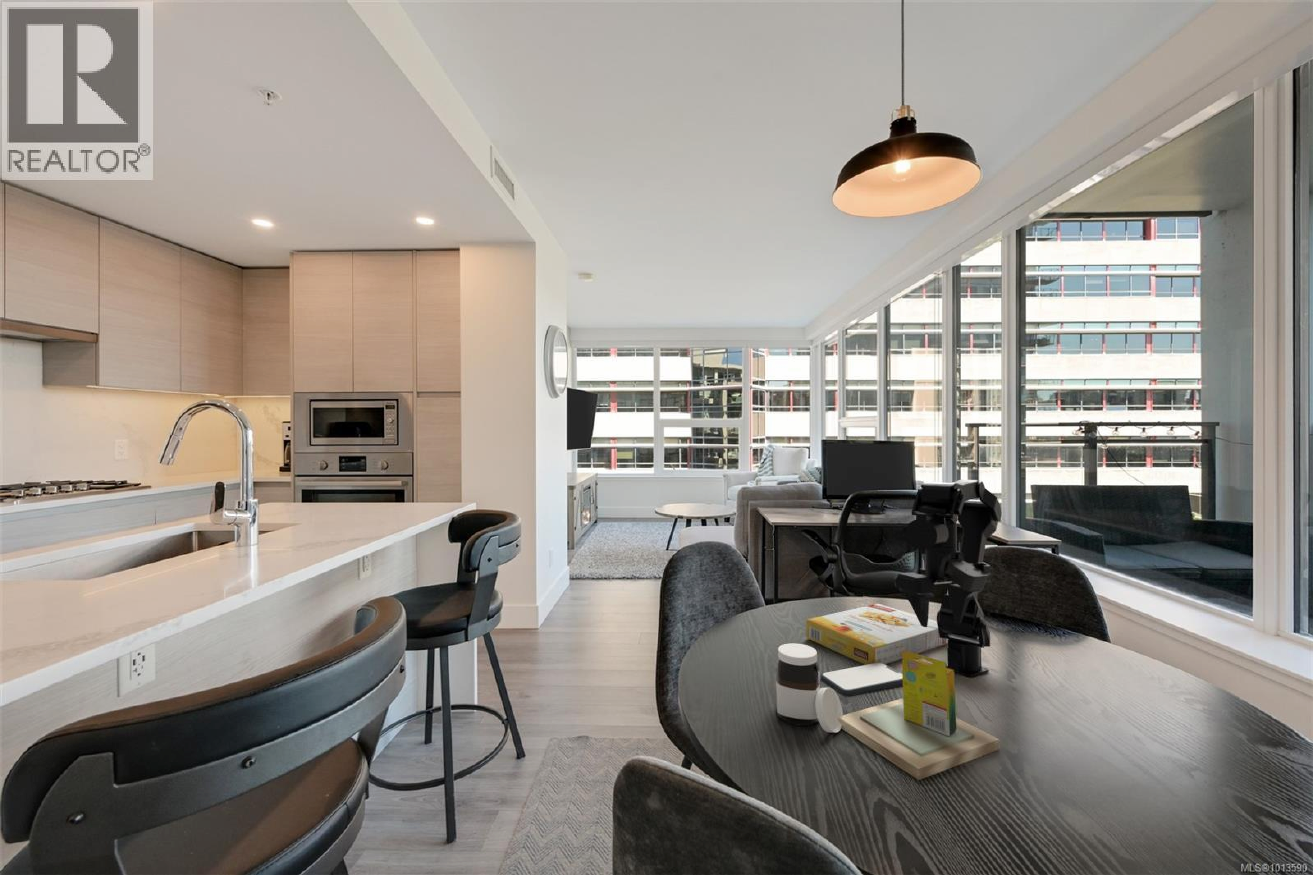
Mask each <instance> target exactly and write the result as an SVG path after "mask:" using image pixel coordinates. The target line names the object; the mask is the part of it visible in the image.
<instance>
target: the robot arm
mask: <svg viewBox="0 0 1313 875" xmlns="http://www.w3.org/2000/svg"><path fill="white" fill-rule="evenodd" d="M911 515H912V516H915V519H913V520H912V521H910V522H909V523H908V524H907V526H906V528H905V531H904V534H905V538H906V541H907V542H908V544H909V545H910V546H911V547H912V548H914V549H917V550H919V554H920V555H924V568H919V573H915V572H901V573H898V574H897V575H896V576H894V587H895V589H896V588H897V589H898V590H899V591H900V592H902V593H903V594H904V596H905V597H906V599H907V601H908V602H909V604H910V606H911V609H912V610H913V612H914V615H916V616H917V618H918V620H919V622H920V624H921V626H923V627H927V625H928V619H929V612H930V601H931V600H932V599H933V598H934V597H935V593H933V592H934V589H935V587H937V586H938V587H939V586H946V589H947V593H948V594H946V593H945V594H944V595H943V596H942V597H941V604H940V608H939V609H938V611H937V614H936V621H937V625H938V631H939V637H940V638H945V639H947V648H946V653H947V655H946V656H947V661H945V662H946V668H948V669H952V670H954V672H955V673H959V674H961V675H963V676H965V677H968V678H971V677H974V676H979V675H983V674H986V673H989V668H987V667H985V666H982V649H984V648H985V647H987V648H988V647H989V648H991V631H990V629H989V627H988V625H987V622H986V620H985V618H984V616H985V614H984V612H983V610H982V607H981V606H980V604H979V601H978V596H979V593H981V592H982V591H984V588H986V589H987V583H991V582H992V570H991V565H990V564H988V563H986V562H984V557H985V551H986V545H987V539H989V538H990V537H991V536H992V535H993V534H994V533H995V532H996V531H997V528H998V524H999V522H1001V520H1002V507H1001V505H1000V502H999V499H998V497H997V496H996V495H995V494H994V493H992V492H991V491H990V490H988V489H987V488H986V487H985V484H984V482H983V481H981V480H979V479H959V480H956V481H954V482H934V481H933V482H932V481H931V482H929V481H924V482H922V483H921V485H920V487H918V489H917V492H916V495H915V499H914V502H913V506H912V509H911ZM957 522H958V523H957ZM958 524H959V525H960V527H961V528H962V531H963V533H962V537H961V538H962V539H961V543H960V549H959V551H958V542H957V541H958V535H957V534H958V533H957V532H958V531H957V530H958V528H957V525H958Z"/></svg>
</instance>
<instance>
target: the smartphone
mask: <svg viewBox="0 0 1313 875" xmlns="http://www.w3.org/2000/svg"><path fill="white" fill-rule="evenodd" d="M820 681H823V682H824V683H825V684H827V685H828V686H829V687H830V688H832V689H833V690H834V691H837V692H838V693H840V694H841V695H844V696H854V695H858V694H864V693H865V694H866V693H870V692H876V691H880V690H887V689H890V688H897V687H901V686H902V687H903V675H902V672H900V671H898V670H897V669H895V668H893V667H891V666H889V665H887V664H883V663H872V664H867V665H865V664H862V665H858V666H853V667H852V666H851V667H848V668H842V669H836V670H832V671H827V672H821V674H820Z"/></svg>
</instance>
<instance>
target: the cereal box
mask: <svg viewBox="0 0 1313 875" xmlns="http://www.w3.org/2000/svg"><path fill="white" fill-rule="evenodd" d="M805 630H806V631H805V633H806V634H805V635H806V638H807V639H808V640H810V641H812V642H814V643H817V644H818V645H821V646H823V647H825V648H828V649H830V650H832V651H834V652H836V653H839V654H840V655H843V656H845V657H847V658H849V659H852V660H854V661H856V662H858V663H860V664H862V665H867V664H872V663H883V664H885V665H887V664H890V663H893V662H897V661H898V660H902V650H905V651H908V652H912V653H916V654H919V653H923V652H925V651H928V650H930V649H931V650H932V649H935V648H937V646H938V647H940V646H944V645H946V644H948V639H945V638H940V637H939V631H938V625H937V620H934V619H930V618H928V625H927V627H923V626H921V624H920V622H919V620H918V618H917V616H916V614H915V613H909V612H907V611H903V610H899V609H897V608H893V607H890V606H886V605H884V604H881V603H875V604H874V603H873V604H870V605H865V606H861V607H857V608H853V609H852V608H851V609H848V610H843V611H838V612H835V613H829V614H825V615H822V616H815V617H812V618H808V619H806V629H805Z"/></svg>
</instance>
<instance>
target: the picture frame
mask: <svg viewBox="0 0 1313 875" xmlns="http://www.w3.org/2000/svg"><path fill="white" fill-rule="evenodd" d="M838 721H839V723H840V724H842V727H841V729H842V730H843V731H845V732H846V733H848V734H849V735H851V736H852V737H854V738H855V739H857V740H858V741H859V742H861V743H862V744H864V745H865V746H867V747H868V748H869V749H871V750H872V751H875V752H876V753H877V754H879V755H881V757H884V758H885V759H886V760H888V761H889V762H891V763H892V764H894V765H895V766H897V767H898V768H899V769H901V770H902V771H904V772H906V773H908V774H909V775H910V776H911V777H913V778H915V779H916V780H918V781H920V780H924V779H925V778H928V777H931V776H933V775H937V774H939V773H941V772H944V771H947V770H949V769H951V768H955V767H957V766H959V765H960V766H961V765H963V764H964V763H967V762H970V761H973V760H975V759H979V758H981V757H983V755H984V756H986V755H988V754H991V753H993V752H997V751H1000V739H999V738H997V737H995V736H993V735H992V734H990V733H988V732H985V731H983V730H981V729H979V728H977V727H976V726H974V725H971V724H969V723H967V722H965V721H964V720H961V719H960V718H958V717H956V731H955V732H954V733H953V734H952V735H950V736H949V737H948V736H945V735H944V734H942V733H939V732H937V731H934V730H932V729H929V728H926V727H924V726H921V725H919V724H916V723H914V722H911V721H907V720H905V719H904V704H903V698H899V699H896V700H892V701H888V702H885V703H882V704H881V703H880V704H877V705H874V706H871V707H867V708H864V709H861V710H857V711H853V712H850V713H846V714H843V716H839V717H838Z"/></svg>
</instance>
